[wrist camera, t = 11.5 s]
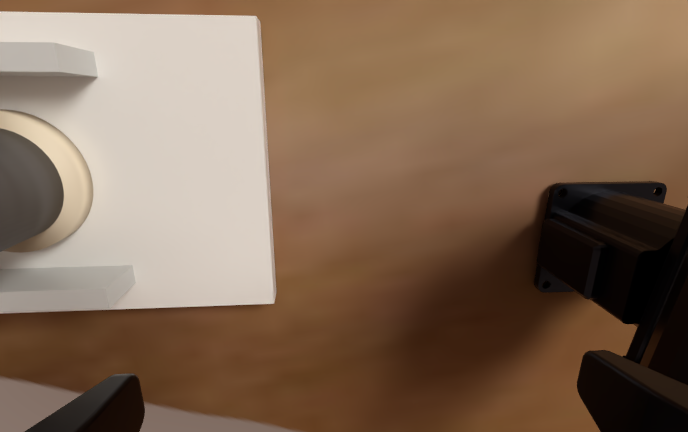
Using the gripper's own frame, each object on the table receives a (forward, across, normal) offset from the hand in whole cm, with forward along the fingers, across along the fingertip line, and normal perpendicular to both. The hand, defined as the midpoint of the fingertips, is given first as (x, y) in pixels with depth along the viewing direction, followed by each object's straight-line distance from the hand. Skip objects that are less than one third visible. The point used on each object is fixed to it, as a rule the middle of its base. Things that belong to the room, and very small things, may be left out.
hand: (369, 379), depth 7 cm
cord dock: (+13, +12, -2) cm, 18 cm away
